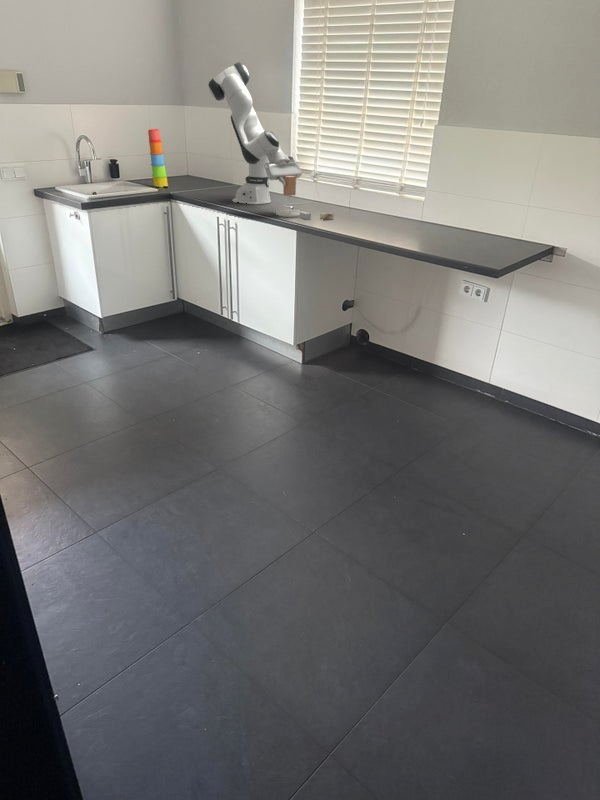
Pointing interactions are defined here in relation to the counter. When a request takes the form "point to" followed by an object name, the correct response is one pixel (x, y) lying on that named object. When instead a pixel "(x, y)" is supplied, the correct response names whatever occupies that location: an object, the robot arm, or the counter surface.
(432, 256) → the counter surface
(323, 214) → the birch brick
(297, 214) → the cream plate
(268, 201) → the robot arm
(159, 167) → the stacking cups
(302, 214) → the grey brick
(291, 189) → the orange cylinder
